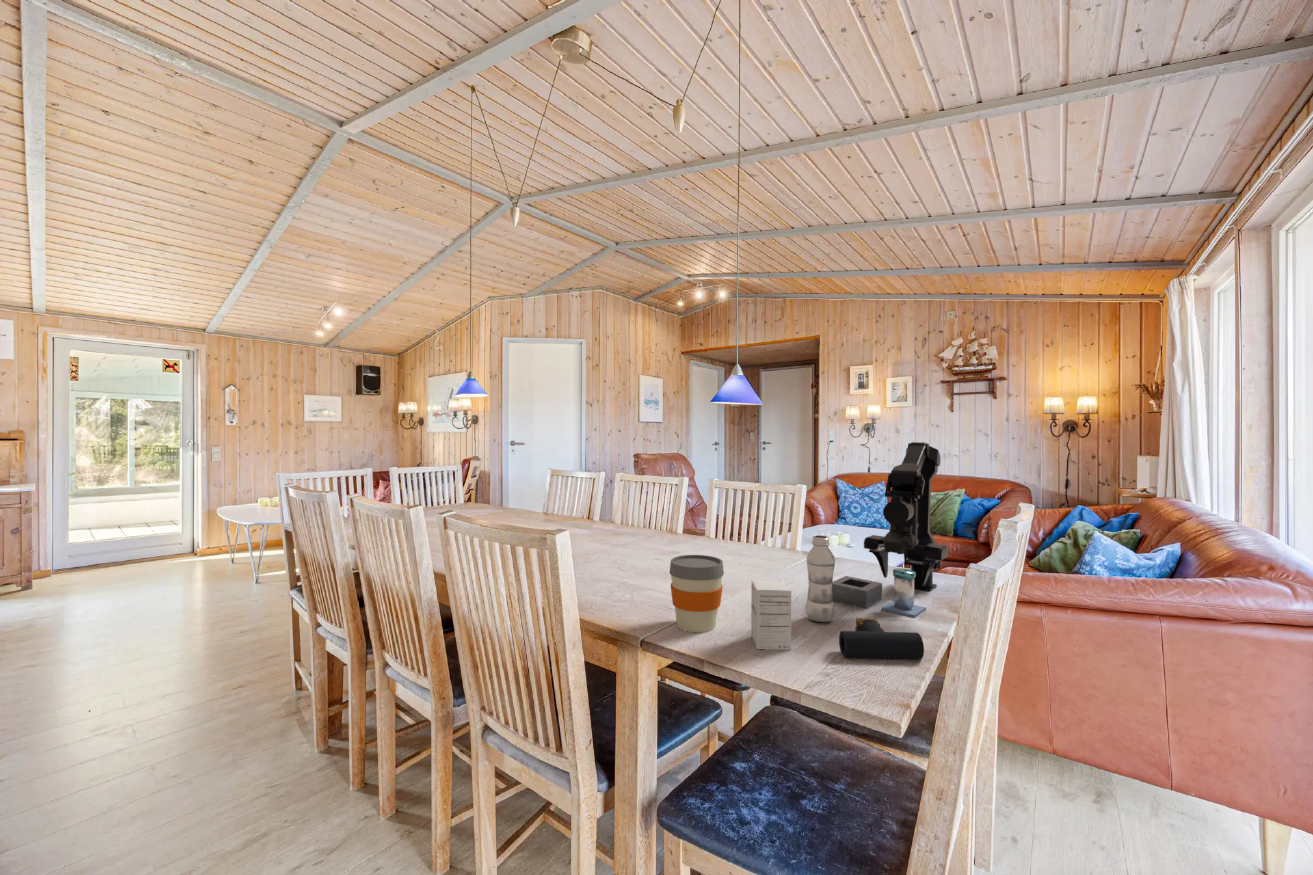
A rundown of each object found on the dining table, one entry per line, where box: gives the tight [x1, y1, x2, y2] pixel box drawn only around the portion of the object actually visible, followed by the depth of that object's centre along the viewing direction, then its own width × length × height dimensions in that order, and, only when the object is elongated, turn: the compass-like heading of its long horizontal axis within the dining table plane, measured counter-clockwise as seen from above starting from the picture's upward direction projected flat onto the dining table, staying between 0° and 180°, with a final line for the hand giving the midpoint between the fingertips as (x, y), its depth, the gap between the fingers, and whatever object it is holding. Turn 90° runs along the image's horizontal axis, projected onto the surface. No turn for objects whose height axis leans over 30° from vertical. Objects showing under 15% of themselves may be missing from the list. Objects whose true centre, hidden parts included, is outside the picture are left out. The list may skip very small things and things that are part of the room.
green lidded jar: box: [892, 567, 916, 610], centre depth 136 cm, size 5×5×9 cm
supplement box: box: [750, 579, 792, 651], centre depth 115 cm, size 7×7×13 cm
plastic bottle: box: [804, 534, 836, 623], centre depth 128 cm, size 6×7×20 cm
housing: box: [832, 575, 883, 610], centre depth 144 cm, size 10×10×4 cm
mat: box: [881, 599, 927, 619], centre depth 136 cm, size 8×8×1 cm
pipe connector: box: [838, 617, 925, 660], centre depth 112 cm, size 12×5×15 cm
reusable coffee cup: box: [669, 554, 725, 633], centre depth 125 cm, size 12×13×15 cm
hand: (904, 580), depth 136 cm, fingers open, 9 cm apart
